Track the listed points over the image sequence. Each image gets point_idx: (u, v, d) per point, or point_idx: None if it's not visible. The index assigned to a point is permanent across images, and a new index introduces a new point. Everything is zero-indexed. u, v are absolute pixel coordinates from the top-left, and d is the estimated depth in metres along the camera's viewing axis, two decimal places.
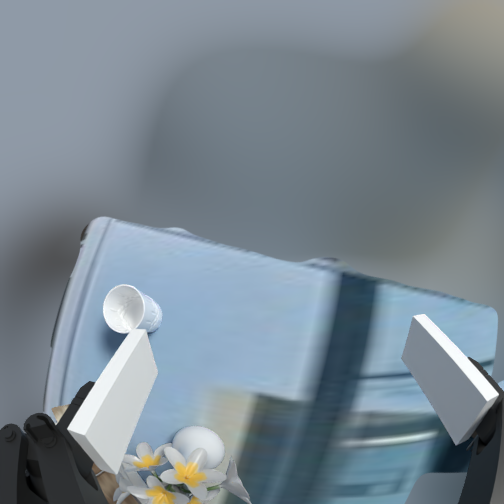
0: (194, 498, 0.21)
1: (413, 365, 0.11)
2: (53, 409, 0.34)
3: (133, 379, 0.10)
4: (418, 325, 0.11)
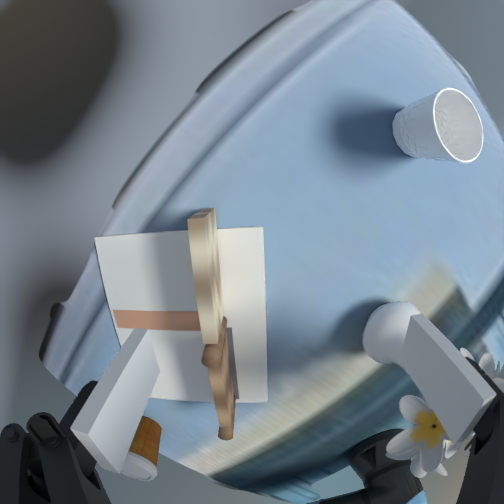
0: None
1: (411, 364, 0.11)
2: (193, 221, 0.23)
3: (135, 378, 0.10)
4: (416, 324, 0.11)
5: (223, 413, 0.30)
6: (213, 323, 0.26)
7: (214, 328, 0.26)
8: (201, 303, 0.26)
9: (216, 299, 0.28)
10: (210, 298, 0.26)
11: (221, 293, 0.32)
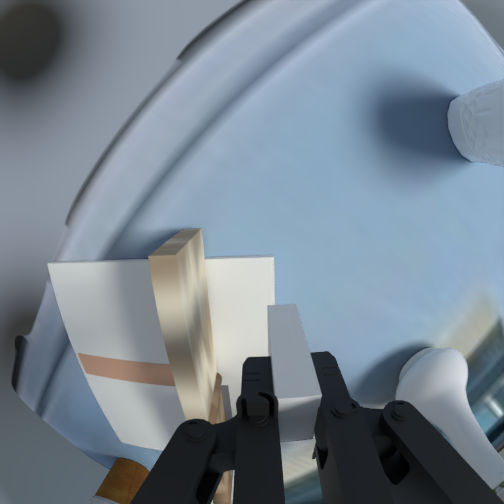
0: (499, 491, 0.06)
1: None
2: (158, 261, 0.13)
3: None
4: (282, 313, 0.13)
5: None
6: (200, 404, 0.16)
7: (202, 409, 0.16)
8: (180, 380, 0.15)
9: (204, 366, 0.18)
10: (193, 375, 0.15)
11: (213, 347, 0.22)
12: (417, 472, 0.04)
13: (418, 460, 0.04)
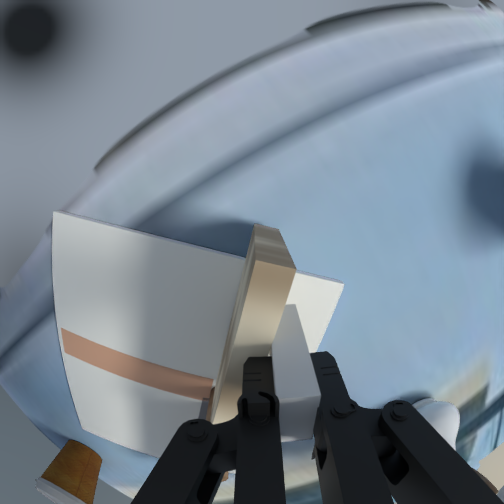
0: None
1: None
2: (268, 271, 0.10)
3: None
4: (282, 314, 0.13)
5: None
6: None
7: None
8: (225, 412, 0.12)
9: None
10: None
11: None
12: (416, 472, 0.04)
13: (417, 460, 0.04)
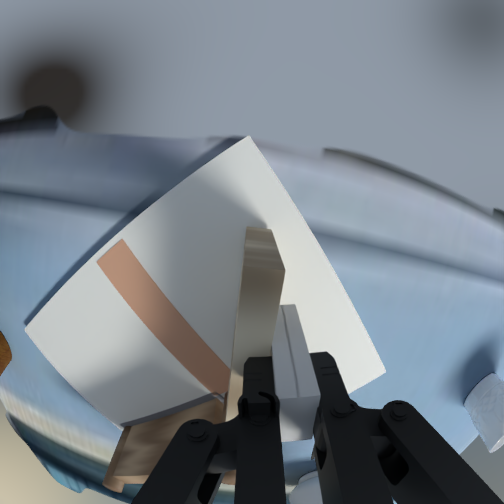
0: None
1: None
2: (257, 275, 0.10)
3: None
4: None
5: (140, 480, 0.15)
6: None
7: None
8: (235, 416, 0.12)
9: None
10: None
11: None
12: (416, 472, 0.04)
13: (417, 460, 0.04)
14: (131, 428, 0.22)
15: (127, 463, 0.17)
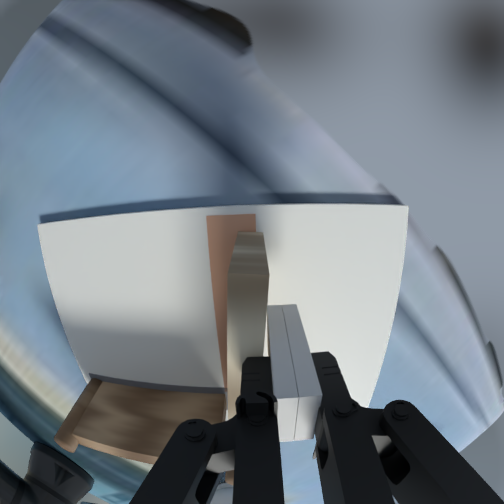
0: None
1: None
2: (242, 281, 0.10)
3: None
4: (283, 313, 0.13)
5: (109, 450, 0.14)
6: None
7: None
8: None
9: None
10: None
11: None
12: (417, 472, 0.04)
13: (418, 460, 0.04)
14: (102, 384, 0.20)
15: (95, 425, 0.15)
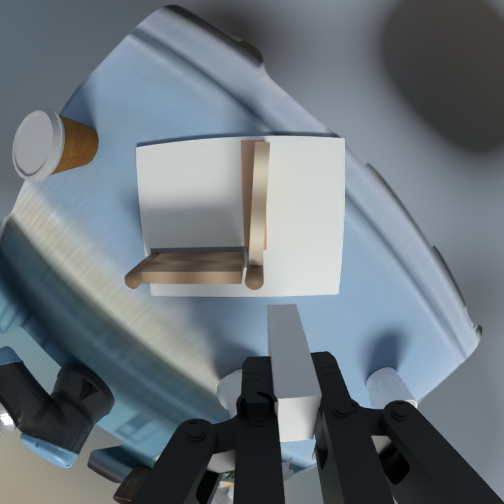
0: None
1: None
2: (260, 144, 0.26)
3: None
4: (282, 313, 0.13)
5: (166, 278, 0.30)
6: (262, 242, 0.29)
7: (262, 248, 0.29)
8: (255, 220, 0.28)
9: None
10: (264, 216, 0.28)
11: None
12: (417, 472, 0.04)
13: (418, 460, 0.04)
14: (160, 254, 0.37)
15: (158, 266, 0.32)
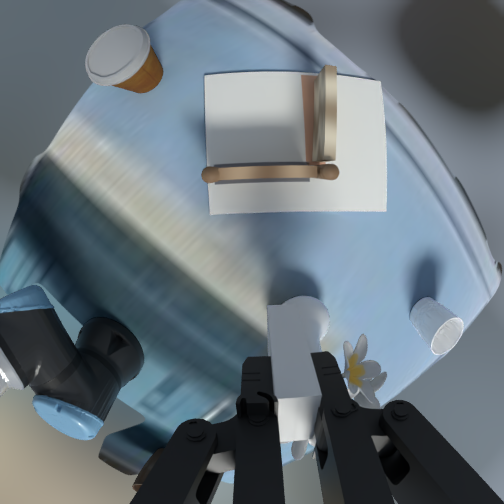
0: None
1: None
2: (329, 67, 0.27)
3: None
4: (282, 313, 0.13)
5: (245, 173, 0.32)
6: (335, 140, 0.30)
7: (335, 145, 0.30)
8: (328, 122, 0.30)
9: None
10: (336, 119, 0.29)
11: None
12: (417, 472, 0.04)
13: (418, 460, 0.04)
14: None
15: None
